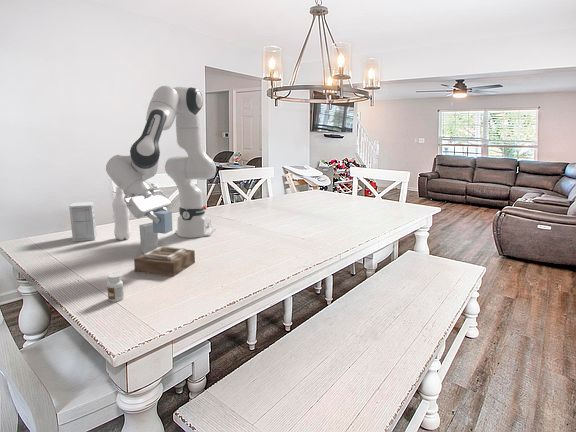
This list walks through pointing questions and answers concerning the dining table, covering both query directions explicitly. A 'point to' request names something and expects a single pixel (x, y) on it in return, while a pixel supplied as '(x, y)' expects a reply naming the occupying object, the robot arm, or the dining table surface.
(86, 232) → the supplement box
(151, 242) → the skincare box
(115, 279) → the pill bottle
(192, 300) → the dining table surface
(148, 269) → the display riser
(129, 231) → the water bottle
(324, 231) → the dining table surface
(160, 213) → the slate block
